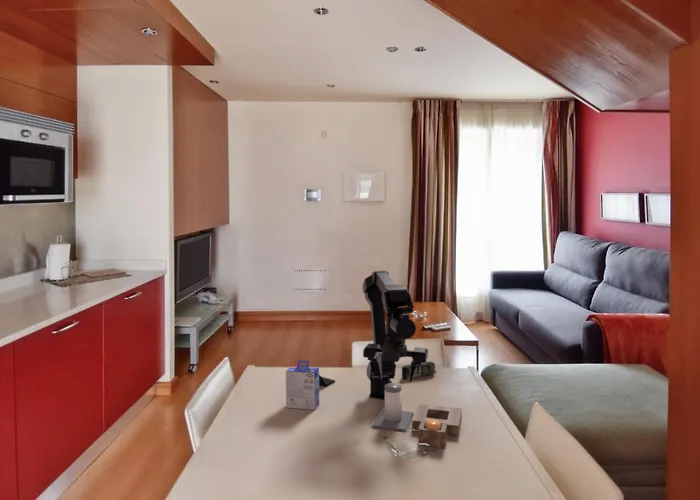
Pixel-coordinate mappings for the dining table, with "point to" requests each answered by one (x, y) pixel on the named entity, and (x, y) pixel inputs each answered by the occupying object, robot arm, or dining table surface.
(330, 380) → the handheld gaming console
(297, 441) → the dining table surface
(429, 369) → the mobile phone
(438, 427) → the release button
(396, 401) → the cylinder
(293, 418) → the dining table surface
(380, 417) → the mat
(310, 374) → the ink cartridge box
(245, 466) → the dining table surface
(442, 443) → the socket block
